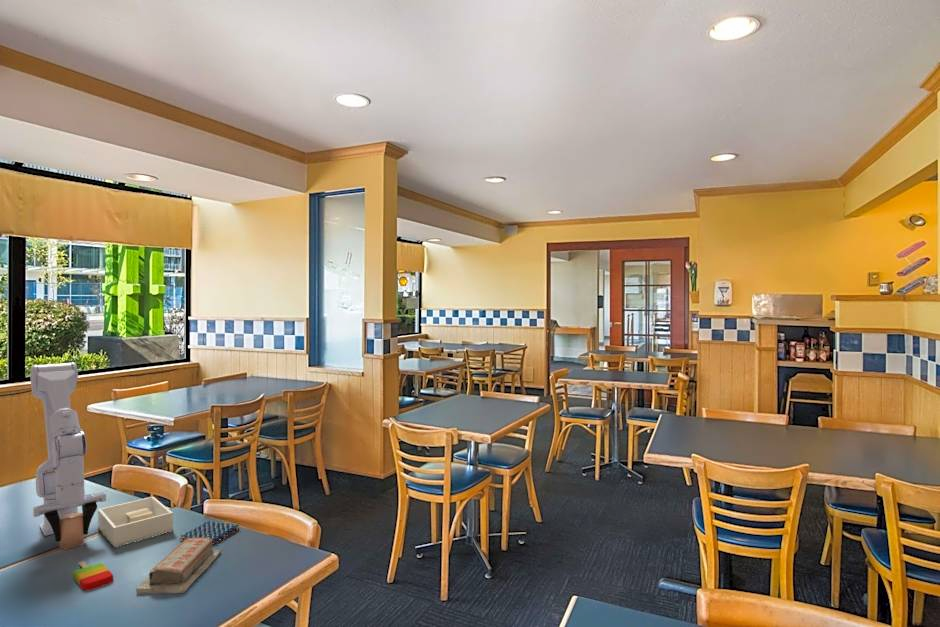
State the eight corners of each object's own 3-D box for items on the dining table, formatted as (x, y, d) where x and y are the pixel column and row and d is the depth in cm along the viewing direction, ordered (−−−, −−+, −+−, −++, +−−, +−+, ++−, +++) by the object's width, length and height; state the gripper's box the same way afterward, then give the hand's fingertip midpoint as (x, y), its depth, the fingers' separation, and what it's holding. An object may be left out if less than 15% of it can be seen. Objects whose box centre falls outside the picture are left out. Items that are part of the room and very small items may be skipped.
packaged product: (179, 535, 130) (221, 534, 130) (179, 555, 130) (221, 554, 130) (134, 573, 112) (183, 572, 112) (135, 596, 112) (184, 595, 112)
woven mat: (207, 527, 146) (207, 519, 146) (241, 531, 143) (241, 523, 143) (177, 543, 136) (177, 535, 136) (212, 548, 133) (212, 540, 133)
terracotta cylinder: (57, 544, 135) (56, 516, 135) (81, 538, 139) (81, 511, 138) (61, 551, 132) (60, 522, 131) (86, 544, 135) (85, 516, 135)
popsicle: (84, 594, 113) (84, 584, 113) (66, 571, 123) (66, 562, 123) (115, 583, 117) (114, 574, 117) (95, 562, 127) (95, 554, 127)
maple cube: (125, 532, 141) (125, 513, 140) (147, 526, 144) (147, 507, 144) (131, 538, 137) (130, 518, 137) (153, 531, 141) (152, 512, 141)
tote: (98, 527, 145) (97, 509, 145) (153, 513, 154) (153, 496, 154) (114, 548, 133) (113, 527, 133) (173, 531, 142) (172, 512, 142)
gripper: (35, 494, 127) (36, 551, 127) (108, 479, 137) (109, 532, 137) (31, 487, 132) (32, 542, 132) (102, 473, 142) (103, 524, 142)
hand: (71, 536), depth 135 cm, fingers closed on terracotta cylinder, 5 cm apart
